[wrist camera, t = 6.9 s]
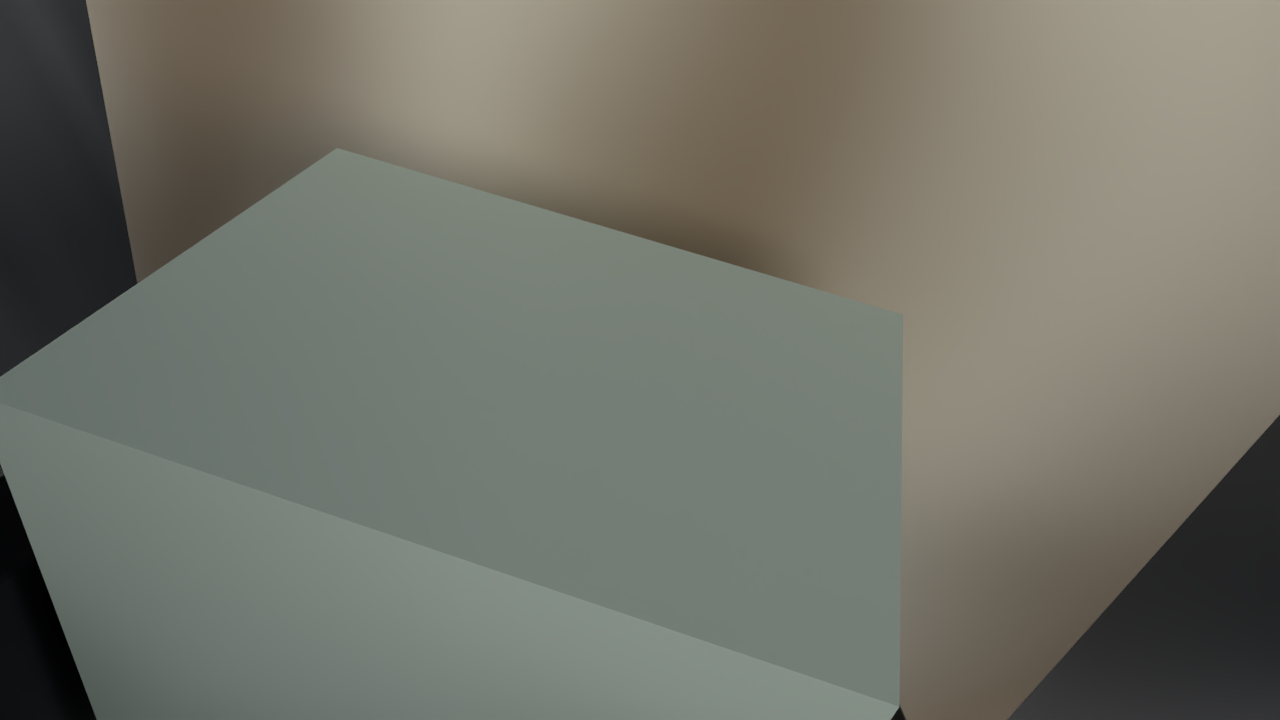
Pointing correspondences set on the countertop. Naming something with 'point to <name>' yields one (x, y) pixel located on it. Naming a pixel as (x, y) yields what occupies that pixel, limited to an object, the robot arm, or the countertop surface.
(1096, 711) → the countertop surface
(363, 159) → the sage block
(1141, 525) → the birch plinth
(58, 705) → the robot arm
